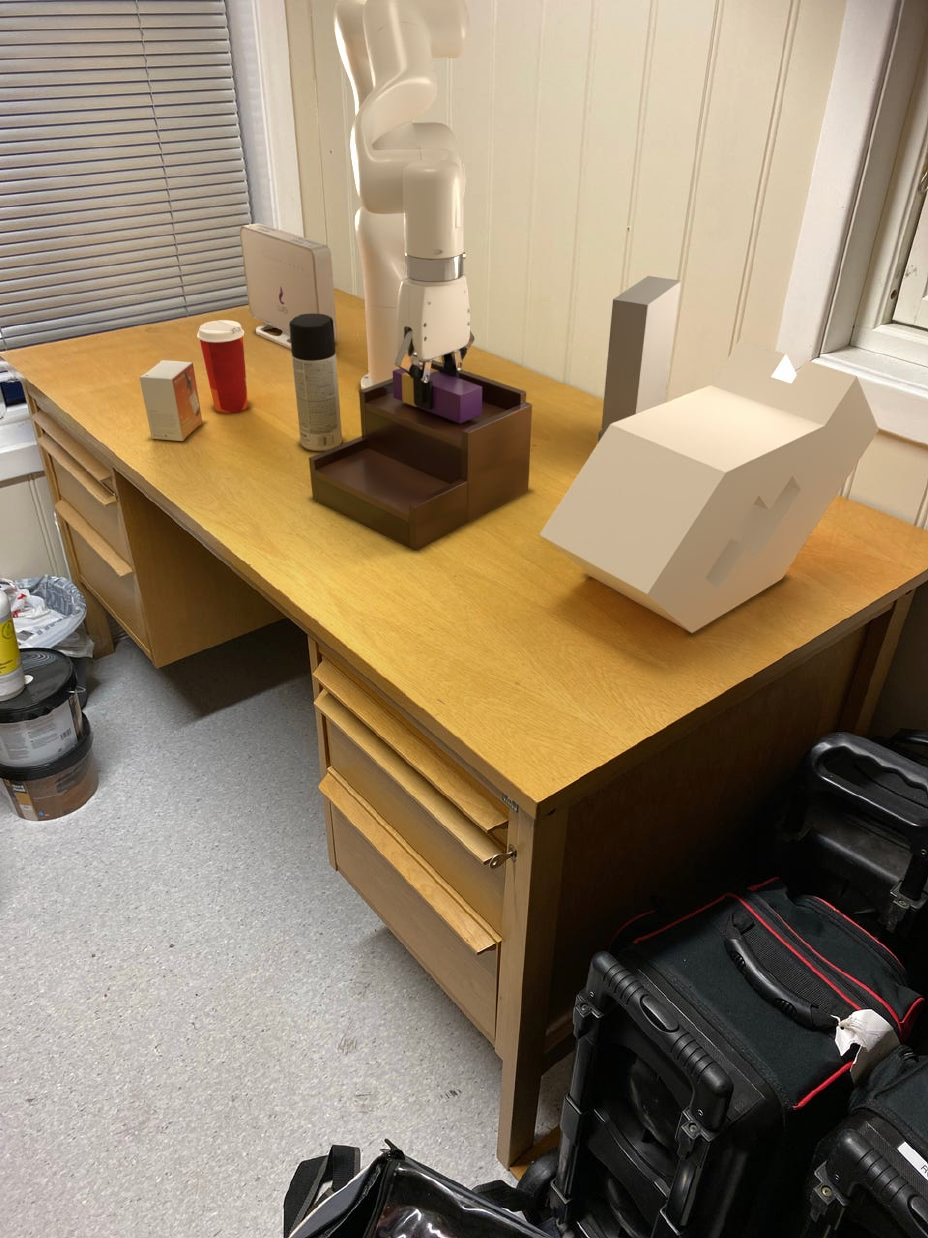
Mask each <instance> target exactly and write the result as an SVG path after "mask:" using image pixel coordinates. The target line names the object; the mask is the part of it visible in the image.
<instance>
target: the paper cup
mask: <svg viewBox="0 0 928 1238" xmlns="http://www.w3.org/2000/svg"><path fill="white" fill-rule="evenodd" d="M244 335H245V331H244V329H242V325H241V324H240V323H239V322H238V321H235V320H228V319H221V320H212V321H207V322H205V323H202V324H201V325H200V326H199V328H198V332H197V335H196V337H197V339H198V340H199V342H200V346H201V352H202V356H203V357H202V358H203V362H204V365H205V371H206V374H207V380H208V384H209V389H210V392H211V398H212V402H213V406H214V410H215V411H217V412H218V413H221V414H235V413H240V412H243V411H245V410H246V409H247V408H248V406H249V405H248V387H247V374H246V360H245V358H246V357H245V346H244Z"/></svg>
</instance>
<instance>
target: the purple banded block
mask: <svg viewBox="0 0 928 1238" xmlns="http://www.w3.org/2000/svg"><path fill="white" fill-rule="evenodd" d="M419 368H420V369H421V370H422V365H419ZM429 381H432V383H433V408H432V409H430V410H427V409H425V408H422V407H419V406H417V405H415V404H414V390H413V379H412V378H410V377H409V374H408V373H406V372H405V371H404V370H403V369H401V368H399V369H396V370H394V371H393V396H394V398H395V399H398V400H401V401H403V402H405V403H407V404H410V405H412V406H415V407H419V408H421V409H424V410H426V411H429V412H432V413H434V414H437V415H439V416H442V417H444V418H447V419H450V420H452V421H455V422H457V423H463V422H465V421H467V420H469V419H472V418H474V417H476V416H479V415H481V414H482V386H479V385H476V384H473V383H471V382H468V381H465V380H462V379H459V378H456V377H453V376H451V375H448V374H445V373H442V372H439V371H438V370H435V369H432V368H431V371H430V378H429Z"/></svg>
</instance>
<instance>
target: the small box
mask: <svg viewBox="0 0 928 1238" xmlns="http://www.w3.org/2000/svg"><path fill="white" fill-rule="evenodd" d="M139 382H140V387H141V391H142V397H143V403H144V407H145V411H146V412H145V413H146V417H147V423H148V427H149V431H150V437H151V439H152V440H163V441H177V442H184V441H185V439H187V438H188V437H189V436H190V435H191V434H192V433H193V432H194V431H195V430H196V429H197V428H199V427H200V426H202V424H203V417H202V416H203V415H202V411H201V410H202V409H201V404H200V398H199V392H198V386H197V380H196V373H195V366H194V362H192V361H181V360H180V361H179V360H167V359H162V360H160V361H159V362H158V363H157V364H155V366H153V367H152V368H151V369H149V370H147V372H145V373H144V374H142V375H140V376H139Z"/></svg>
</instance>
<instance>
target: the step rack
mask: <svg viewBox="0 0 928 1238" xmlns="http://www.w3.org/2000/svg"><path fill="white" fill-rule="evenodd" d="M440 366H444V365H443V363H442V361H440V362H438V361H435V360H432V364H431V368H432V369H435V370H438V371H439V370H440ZM458 371H459V379H462V380H465V381H468V382H471V383H473V384H476V385H479V386H482V414H481V415H479V416H476V417H474V418H472V419H469V420H467V421H465V422H463V423H457V422H455V421H452V420H450V419H447V418H444V417H442V416H439V415H437V414H434V413H432V412H429V411H426V410H424V409H421V408H419V407H415V406H412V405H410V404H407V403H405V402H403V401H401V400H398V399H395V398H394V396H393V378H392V379H389V380H386V381H384V382H381V383H378V384H375V385H373V386H370V387H367V388H365V389H362V388H361V389H359V390H358V396H359V397H358V398H359V413H360V414H359V415H360V429H361V436H358V437H356V438H353V439H351V440H349V441H347V442H344V443H341V444H340V445H339V446H336V447H334V448H332V449H329V450H327V451H321V452H318V453H317V454H314V455H312V456H310V457H308V465H309V466H308V467H309V474H310V475H309V477H310V484H311V494H312V499H313V500H314V501H316V502H319V504H322V505H325V506H326V507H328V508H330V509H332V510H334V511H336V512H338V513H340V514H342V515H344V516H346V517H348V518H350V519H352V520H354V521H356V522H358V523H360V524H362V525H363V526H365V527H367V528H370V529H372V530H374V531H376V532H378V533H380V534H382V535H384V536H386V537H388V538H390V539H392V540H393V541H395V542H398V543H400V544H402V545H403V546H406V547H408V548H410V549H411V550H414V551H418V550H421V549H422V548H424V547H425V546H426V547H427V546H428V545H429V544H431V543H433V542H435V541H437V540H439V539H440V538H443V537H444V536H447V535H448V534H450V533H452V532H454V531H455V530H457V529H460V528H461V527H464V526H465V525H467V524H469V523H471V522H473V521H475V520H477V519H478V518H481V517H482V516H484V515H486V514H488V513H490V512H491V511H493V510H496V509H497V508H499V507H501V506H503V505H505V504H507V503H509V502H511V501H513V500H514V499H516V498H519V497H520V496H522V495H524V494H526V493H528V492H529V486H530V485H529V484H530V465H531V464H530V463H531V443H532V442H531V441H532V423H533V421H532V419H533V403H531V402H527V391H526V390H523V389H521V388H517V387H514V386H511V385H508V384H507V383H506V384H505V383H502V382H499V381H497V380H494V379H490V378H488V377H485V376H482V375H480V374H476V373H474V372H470V371H467V370H464V369H462V368H461V370H458Z"/></svg>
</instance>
